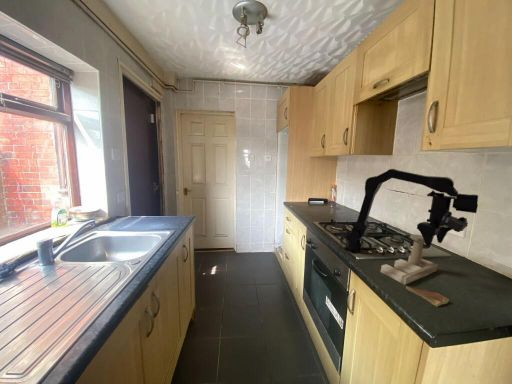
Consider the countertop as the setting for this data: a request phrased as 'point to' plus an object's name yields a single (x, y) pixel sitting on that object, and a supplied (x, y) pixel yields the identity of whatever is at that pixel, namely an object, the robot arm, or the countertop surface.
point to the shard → (429, 296)
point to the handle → (416, 249)
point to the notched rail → (408, 270)
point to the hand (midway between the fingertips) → (434, 244)
